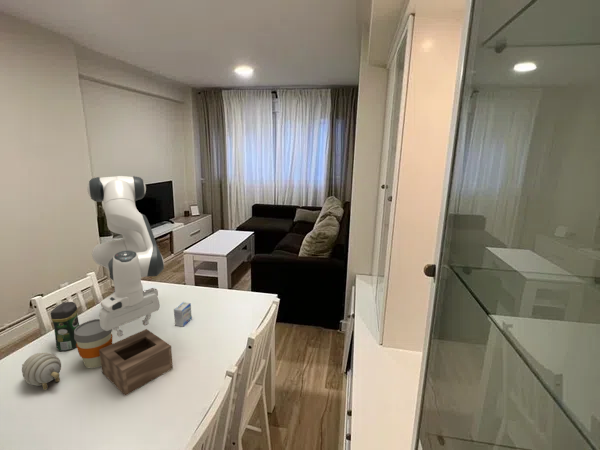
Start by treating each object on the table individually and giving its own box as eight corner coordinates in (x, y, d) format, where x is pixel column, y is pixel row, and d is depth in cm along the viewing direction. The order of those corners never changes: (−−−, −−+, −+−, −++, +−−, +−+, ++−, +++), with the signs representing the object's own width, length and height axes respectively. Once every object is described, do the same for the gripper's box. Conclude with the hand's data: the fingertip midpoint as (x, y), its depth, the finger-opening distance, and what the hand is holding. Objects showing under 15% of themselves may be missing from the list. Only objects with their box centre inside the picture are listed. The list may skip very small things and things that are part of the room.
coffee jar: (65, 339, 142) (58, 300, 137) (85, 337, 143) (79, 299, 138) (53, 352, 132) (45, 311, 128) (74, 351, 134) (67, 310, 129)
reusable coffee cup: (76, 375, 120) (70, 339, 117) (80, 355, 131) (75, 322, 127) (115, 365, 126) (110, 331, 122) (116, 347, 137) (112, 315, 133)
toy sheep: (44, 368, 123) (39, 342, 121) (77, 378, 118) (72, 352, 116) (13, 387, 114) (6, 359, 111) (47, 399, 109) (42, 371, 106)
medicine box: (183, 327, 153) (182, 310, 151) (174, 325, 154) (173, 309, 152) (191, 318, 161) (191, 302, 159) (183, 317, 162) (182, 301, 159)
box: (102, 373, 122) (99, 349, 119) (148, 350, 136) (146, 328, 133) (125, 395, 111) (122, 370, 109) (172, 368, 125) (171, 345, 123)
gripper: (152, 284, 126) (155, 315, 129) (95, 303, 110) (100, 339, 113) (161, 288, 122) (164, 321, 126) (103, 309, 106) (108, 346, 110)
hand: (133, 329), depth 119 cm, fingers open, 8 cm apart
